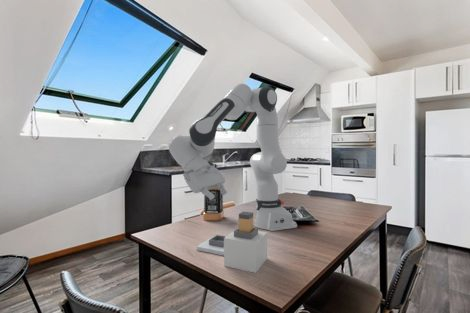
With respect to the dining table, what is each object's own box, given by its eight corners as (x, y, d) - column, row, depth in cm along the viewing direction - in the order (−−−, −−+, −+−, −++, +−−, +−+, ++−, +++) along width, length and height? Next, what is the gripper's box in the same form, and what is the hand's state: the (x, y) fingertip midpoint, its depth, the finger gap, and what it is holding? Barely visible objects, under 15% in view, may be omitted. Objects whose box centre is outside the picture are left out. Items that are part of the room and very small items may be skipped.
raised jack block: (238, 253, 101) (238, 223, 101) (267, 258, 96) (267, 227, 96) (224, 265, 91) (223, 232, 90) (255, 272, 85) (255, 237, 85)
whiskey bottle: (224, 216, 154) (223, 163, 153) (220, 221, 145) (219, 164, 143) (207, 215, 156) (206, 163, 155) (202, 220, 147) (202, 164, 145)
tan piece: (243, 232, 96) (243, 211, 95) (253, 234, 94) (253, 212, 94) (238, 236, 92) (238, 214, 92) (249, 237, 90) (249, 215, 90)
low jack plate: (213, 238, 117) (213, 231, 117) (241, 243, 111) (241, 235, 111) (196, 250, 105) (196, 241, 104) (227, 256, 99) (226, 247, 98)
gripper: (186, 166, 91) (210, 195, 87) (215, 162, 109) (236, 186, 105) (176, 177, 93) (199, 207, 89) (206, 172, 111) (226, 196, 107)
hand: (219, 196), depth 97 cm, fingers open, 8 cm apart
